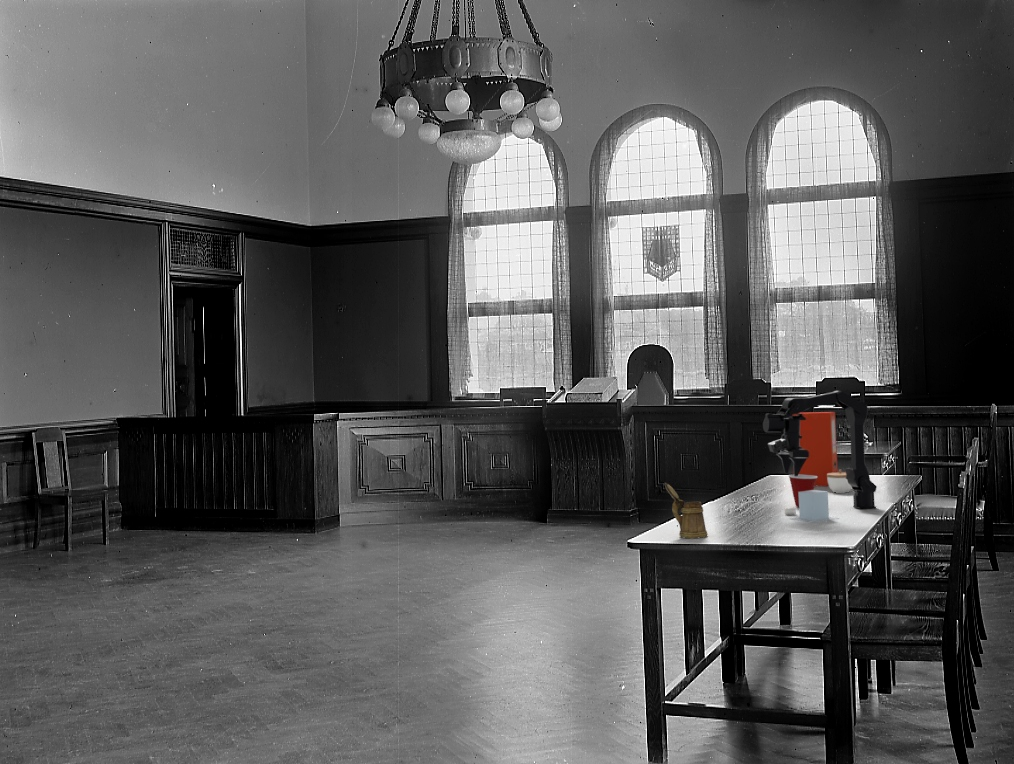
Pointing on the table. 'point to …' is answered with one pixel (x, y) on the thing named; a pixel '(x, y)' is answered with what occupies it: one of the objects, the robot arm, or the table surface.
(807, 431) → the file binder
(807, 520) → the mat
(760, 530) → the table surface
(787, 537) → the table surface
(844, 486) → the lidded jar
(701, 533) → the wooden mug
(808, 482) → the plastic cup
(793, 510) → the white domed knob
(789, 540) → the table surface
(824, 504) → the light blue block
